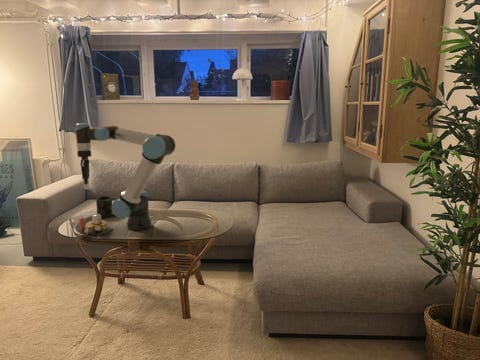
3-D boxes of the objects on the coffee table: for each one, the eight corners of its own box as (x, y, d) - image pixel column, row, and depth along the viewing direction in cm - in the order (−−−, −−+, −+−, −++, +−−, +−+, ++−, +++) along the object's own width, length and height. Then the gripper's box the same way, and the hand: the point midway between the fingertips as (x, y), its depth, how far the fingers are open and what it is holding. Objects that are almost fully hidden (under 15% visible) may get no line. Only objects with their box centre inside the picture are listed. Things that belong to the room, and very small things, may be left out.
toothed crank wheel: (101, 224, 231) (101, 211, 230) (111, 229, 223) (111, 215, 221) (75, 230, 220) (74, 216, 218) (85, 235, 211) (84, 221, 210)
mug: (115, 212, 261) (115, 196, 258) (106, 219, 246) (106, 201, 244) (100, 212, 261) (100, 195, 259) (91, 218, 247) (90, 201, 245)
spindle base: (113, 229, 227) (112, 213, 225) (95, 237, 213) (94, 220, 211) (96, 226, 231) (96, 211, 229) (78, 233, 218) (77, 217, 216)
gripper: (79, 148, 224) (82, 186, 229) (74, 151, 211) (77, 191, 216) (93, 148, 225) (95, 186, 230) (88, 151, 213) (91, 191, 217)
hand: (86, 188), depth 223 cm, fingers closed
